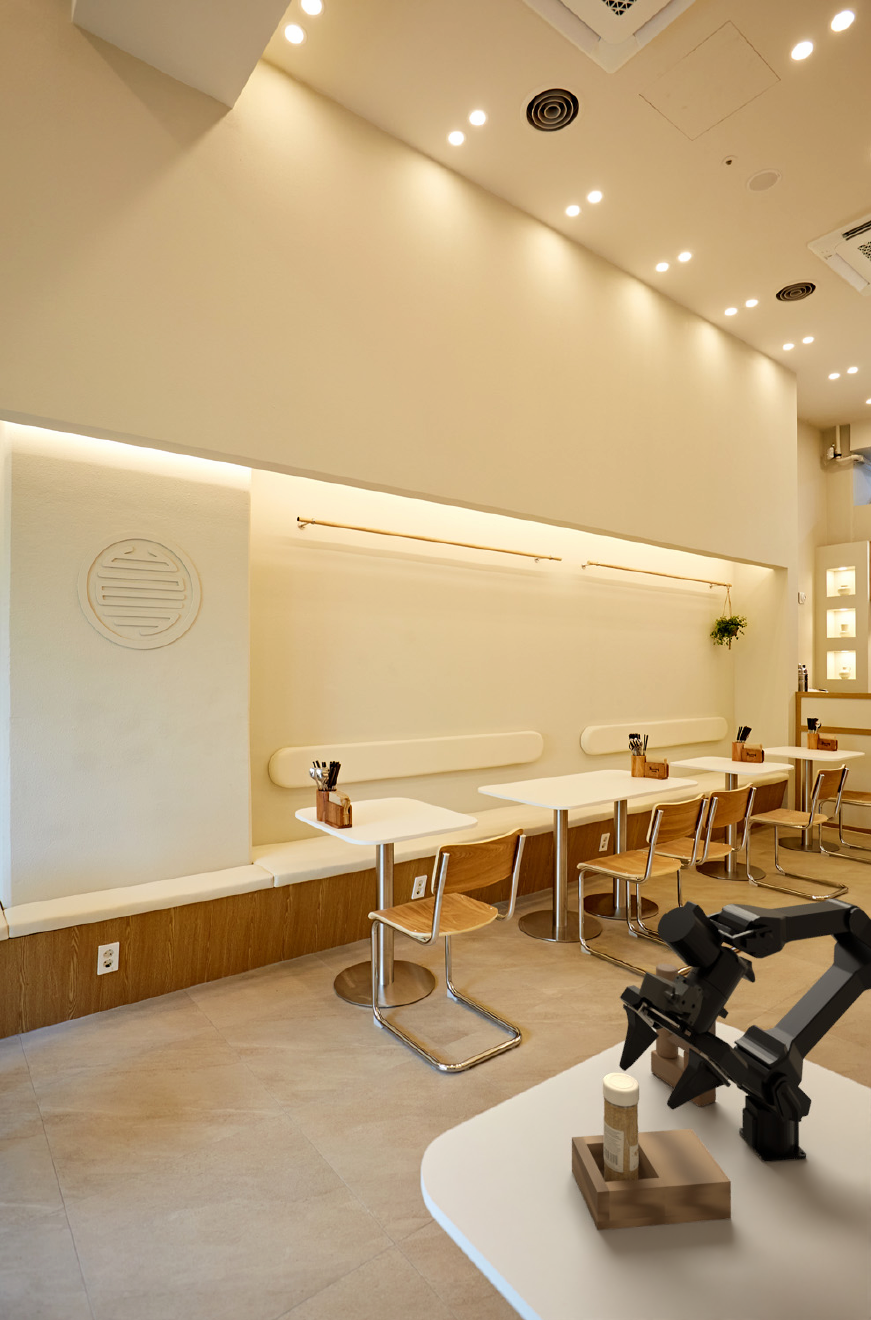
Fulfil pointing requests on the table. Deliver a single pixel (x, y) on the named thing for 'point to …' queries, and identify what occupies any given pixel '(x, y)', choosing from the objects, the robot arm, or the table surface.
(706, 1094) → the wooden block
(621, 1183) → the wooden bottle holder
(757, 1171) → the table surface
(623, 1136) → the sprinkles bottle
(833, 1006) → the robot arm
